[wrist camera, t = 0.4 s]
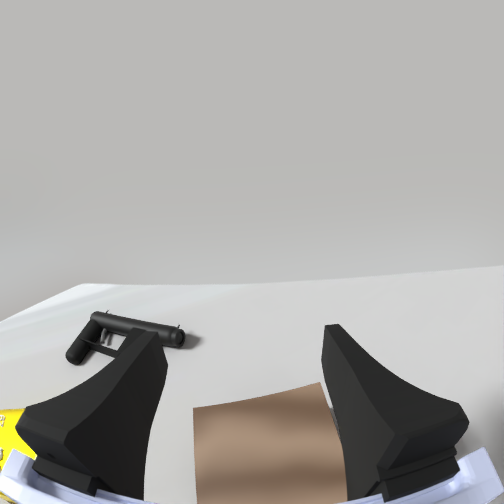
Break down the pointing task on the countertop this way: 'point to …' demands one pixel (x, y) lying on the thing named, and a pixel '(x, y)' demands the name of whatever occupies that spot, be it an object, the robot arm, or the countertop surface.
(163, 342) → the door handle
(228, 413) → the low wooden table
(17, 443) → the yellow case
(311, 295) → the countertop surface
